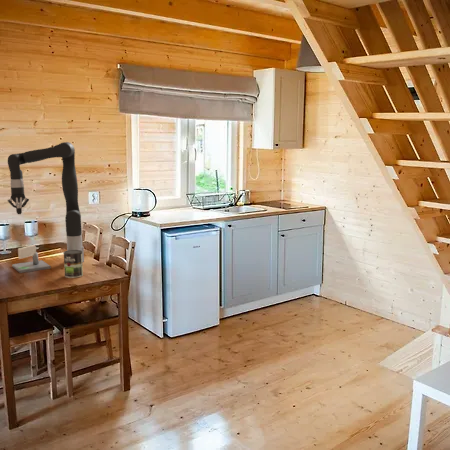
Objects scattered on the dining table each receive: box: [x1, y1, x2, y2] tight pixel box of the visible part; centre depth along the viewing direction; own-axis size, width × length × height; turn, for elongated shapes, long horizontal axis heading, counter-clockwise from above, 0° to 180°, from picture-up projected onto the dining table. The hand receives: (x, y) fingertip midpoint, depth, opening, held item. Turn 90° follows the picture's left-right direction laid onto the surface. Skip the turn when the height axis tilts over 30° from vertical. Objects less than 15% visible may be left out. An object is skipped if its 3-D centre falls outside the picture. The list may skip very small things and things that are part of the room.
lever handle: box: [17, 244, 39, 264], centre depth 308 cm, size 14×3×12 cm, turn 153°
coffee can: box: [63, 250, 84, 279], centre depth 292 cm, size 10×10×14 cm
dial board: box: [11, 259, 52, 274], centre depth 311 cm, size 18×18×2 cm
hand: (19, 214), depth 319 cm, fingers closed
